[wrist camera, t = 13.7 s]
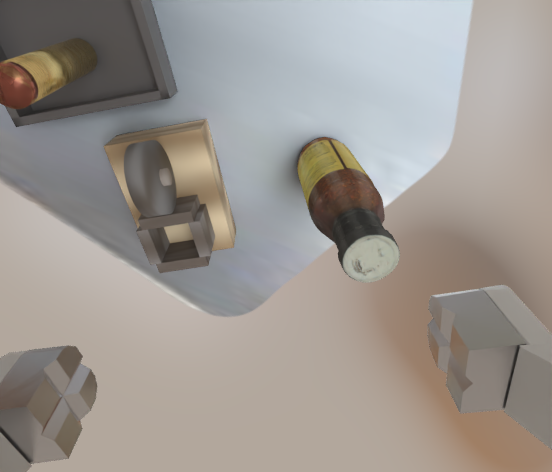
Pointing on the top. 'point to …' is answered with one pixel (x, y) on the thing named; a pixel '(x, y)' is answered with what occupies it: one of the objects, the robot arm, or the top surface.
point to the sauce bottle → (347, 209)
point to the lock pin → (44, 71)
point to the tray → (107, 44)
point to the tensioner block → (174, 193)
